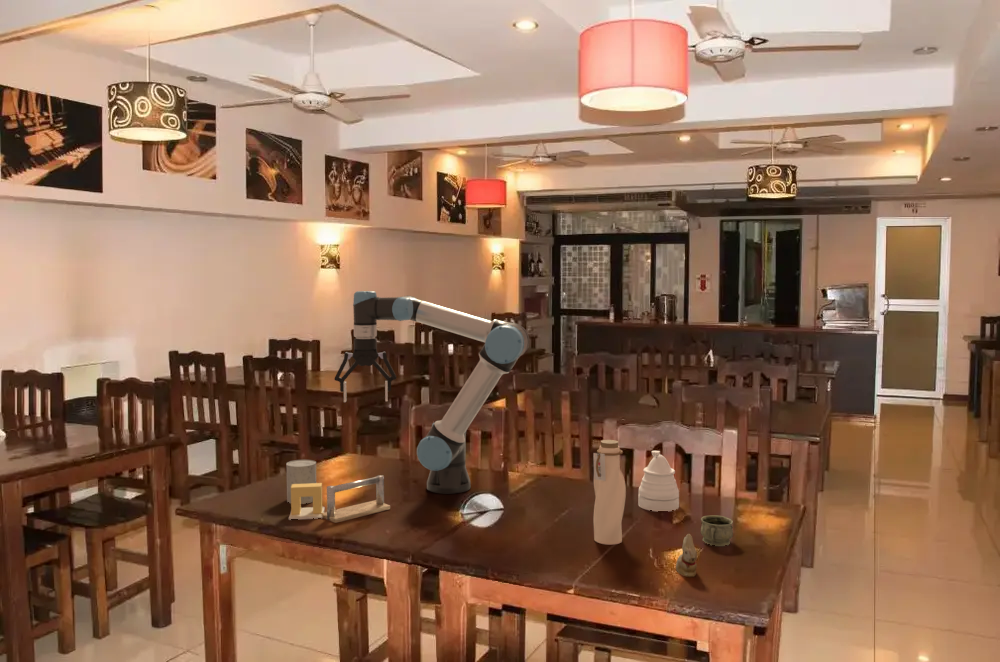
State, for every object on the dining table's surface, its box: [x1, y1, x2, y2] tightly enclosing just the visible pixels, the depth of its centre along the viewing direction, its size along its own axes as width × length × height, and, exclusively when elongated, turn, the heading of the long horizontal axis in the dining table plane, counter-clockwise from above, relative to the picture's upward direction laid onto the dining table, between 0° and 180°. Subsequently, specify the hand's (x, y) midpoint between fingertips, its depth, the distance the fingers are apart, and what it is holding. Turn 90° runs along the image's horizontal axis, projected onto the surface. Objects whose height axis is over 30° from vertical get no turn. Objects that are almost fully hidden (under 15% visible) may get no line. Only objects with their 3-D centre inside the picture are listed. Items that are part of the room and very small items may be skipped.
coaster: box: [288, 506, 325, 521], centre depth 244 cm, size 10×10×1 cm
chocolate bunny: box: [675, 533, 698, 578], centre depth 198 cm, size 6×8×10 cm
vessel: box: [700, 515, 734, 547], centre depth 220 cm, size 12×9×6 cm
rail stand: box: [321, 474, 391, 524], centre depth 245 cm, size 20×8×10 cm, turn 134°
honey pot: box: [637, 450, 680, 512], centre depth 254 cm, size 13×13×18 cm
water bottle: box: [592, 439, 627, 545], centre depth 220 cm, size 10×9×28 cm
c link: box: [290, 482, 323, 515], centre depth 244 cm, size 9×4×8 cm, turn 99°
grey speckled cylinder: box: [286, 459, 317, 505], centre depth 259 cm, size 10×10×12 cm
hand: (365, 401), depth 263 cm, fingers open, 13 cm apart
